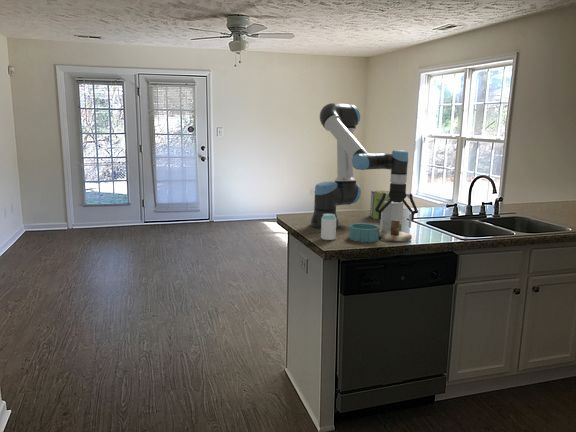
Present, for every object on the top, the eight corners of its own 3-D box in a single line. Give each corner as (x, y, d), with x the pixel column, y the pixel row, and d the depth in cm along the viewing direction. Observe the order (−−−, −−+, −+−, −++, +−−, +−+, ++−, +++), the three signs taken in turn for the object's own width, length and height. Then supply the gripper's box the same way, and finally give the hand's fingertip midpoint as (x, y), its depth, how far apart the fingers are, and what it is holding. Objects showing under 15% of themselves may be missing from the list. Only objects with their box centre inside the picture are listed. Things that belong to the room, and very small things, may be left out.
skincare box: (389, 233, 242) (391, 203, 239) (381, 230, 248) (382, 201, 245) (402, 232, 246) (404, 202, 243) (393, 229, 251) (395, 200, 249)
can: (334, 237, 230) (335, 213, 228) (336, 241, 223) (337, 216, 221) (320, 237, 230) (321, 212, 228) (321, 240, 223) (322, 215, 221)
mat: (381, 240, 226) (381, 239, 226) (379, 234, 240) (379, 233, 240) (411, 242, 224) (411, 241, 224) (407, 235, 238) (407, 234, 238)
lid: (379, 240, 225) (380, 223, 223) (376, 232, 241) (377, 216, 239) (413, 241, 223) (414, 224, 222) (409, 234, 239) (410, 218, 237)
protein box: (398, 219, 279) (400, 193, 276) (372, 218, 279) (373, 192, 276) (395, 216, 289) (396, 190, 286) (369, 215, 289) (371, 190, 286)
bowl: (349, 241, 224) (349, 228, 223) (349, 234, 237) (349, 222, 236) (379, 242, 222) (380, 230, 221) (377, 235, 236) (378, 224, 235)
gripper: (372, 183, 225) (369, 227, 229) (426, 185, 222) (422, 229, 226) (371, 181, 232) (368, 223, 236) (423, 183, 229) (420, 226, 233)
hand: (395, 226), depth 231 cm, fingers open, 13 cm apart
